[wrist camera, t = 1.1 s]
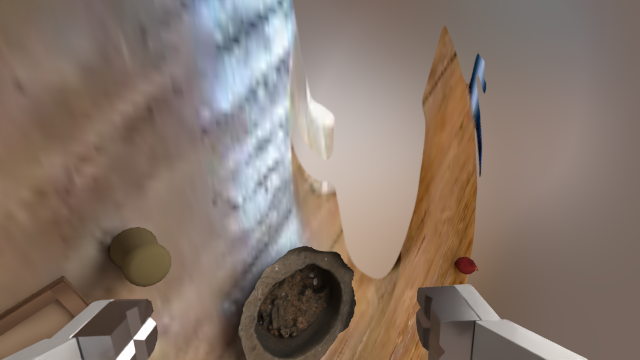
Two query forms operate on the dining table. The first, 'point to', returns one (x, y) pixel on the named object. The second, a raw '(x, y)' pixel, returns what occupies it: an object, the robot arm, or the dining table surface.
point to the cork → (140, 256)
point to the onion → (466, 265)
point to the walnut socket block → (39, 316)
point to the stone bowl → (298, 307)
